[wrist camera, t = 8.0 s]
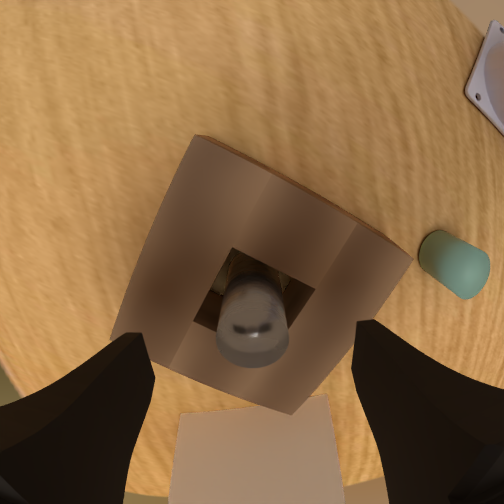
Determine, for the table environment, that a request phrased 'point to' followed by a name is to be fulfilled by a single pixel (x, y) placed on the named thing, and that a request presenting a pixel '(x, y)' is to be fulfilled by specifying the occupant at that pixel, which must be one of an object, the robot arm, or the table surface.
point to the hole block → (267, 251)
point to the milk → (257, 457)
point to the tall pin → (252, 315)
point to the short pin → (455, 263)
